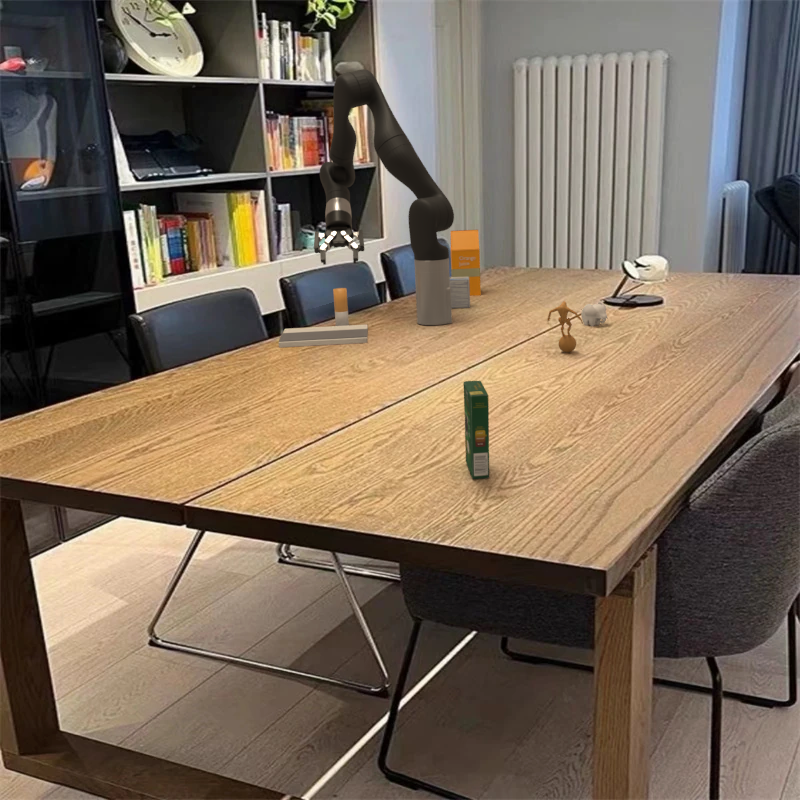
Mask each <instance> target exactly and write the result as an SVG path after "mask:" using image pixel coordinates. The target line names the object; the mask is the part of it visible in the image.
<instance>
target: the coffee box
mask: <svg viewBox="0 0 800 800" xmlns="http://www.w3.org/2000/svg"><path fill="white" fill-rule="evenodd" d="M489 401H490V399H489V393H488V392H487V390H486V388H485V385H484V384H483V382H482V380H466V381H463V407H464V410H463V411H464V440H465V442H464V443H465V444H464V445H465V462H466V463H465V464H466V466H467V469H468V470H469V474H470V476H471V479H472V480H479V479H480V480H481V479H483V480H484V479H485V480H486V479H490V434H489V433H490V429H489V427H490V426H489V425H490V422H489V421H490V420H489V419H490V418H489V415H490V413H489V409H490V408H489V405H490V404H489Z"/></svg>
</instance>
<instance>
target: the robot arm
mask: <svg viewBox="0 0 800 800" xmlns="http://www.w3.org/2000/svg"><path fill="white" fill-rule="evenodd" d="M362 106H367V107H368V108H369V110H370V111H371V113H372V116H373V118H374V130H373V131H374V134H373V147H374V151H375V153H376V155H377V156H378V158H379V160H380V162H381V163H382V165H383V167H384V168H385V169H386V171H387V172H388V173H389V174H390V175H392V177H394V178H395V179H396V180H397V181H399V182H400V183H401V184H403V185H404V186H406V187H407V188H408V189H409V190H410V191H411V192H412V193H413V195H414V196H415V197H416V199H415V200H413V201H412V203H411V205H410V206H409V210H408V215H407V217H408V229H409V239H410V247H411V250H412V252H413V256H414V257H413V259H414V261H413V262H414V279H415V285H414V286H415V301H416V304H415V305H416V307H415V308H416V323H417V324H419V325H423V326H440V325H446V324H452V323H453V321H452V320H453V319H452V317H453V316H452V308H451V288H450V277H451V275H450V251H449V248H448V246H446V245H443V244H441V243H440V242H439V240H438V234H437V233H439V232H443V231H446V230H448V229H449V230H450V228H451V227H452V226H453V224H454V220H455V213H454V209H453V205H452V204H451V202H450V200H449V199H448V197H447V196H446V195H445V194H444V192H443V191H442V189H441V188H440V186H438V185H437V183H436V182H435V180H434V178H433V177H432V176H431V175H430V172H428V170H427V168H426V167H425V165H424V164H423V162H422V160H421V158H420V157H419V155H418V153H417V152H416V149H415V148H414V145H413V144H412V142H411V141H410V139H409V138H408V136H407V135H406V133H405V132H404V129H403V128H402V127H401V125H400V123H399V122H398V119H396V116H395V115H394V112H393V111H392V109H391V107H390V105H389V104H388V101H387V98H386V97H385V95H384V93H383V91H382V88H381V86H380V84H379V82H378V80H377V79H376V76H374V74H373V73H372V72H371V71H370V70H369V69H367V68H366V69H365V68H364V69H363V68H361V69H357V70H353V71H351V72H350V71H349V72H345V73H342V74H339V75H338V76H337V77H336V78H335V81H334V86H333V113H332V114H333V131H332V139H331V144H330V149H329V159H330V160H331V161H326V162H323V164H322V165H321V166H320V168H319V179H320V183H321V184H322V188H323V189H324V193H325V202H326V203H325V205H326V206H325V212H324V213H325V217H324V219H325V231H324V233H320V232H319V231H314V238H313V240H314V241H313V250H314V253H315V254H319V255H320V262H321V263H322V264H323V265H327V257H326V256H327V254H326V253H327V252H329V251H330V250H331V249H332V248H345V247H347V248H348V249H349V250H351V251H352V261H353V264H357V262H358V261H359V252H364V251H365V240H364V232H363V230H362V229H359V230H357V231H355V232H354V231H353V225H352V223H353V222H352V219H353V218H352V216H353V215H352V208H351V193H350V190H349V188H350V187H352V185H354V183H355V180H356V172H355V166H354V155H355V150H356V146H357V134H356V133H357V132H356V131H355V129H354V126H353V125H352V123H351V121H350V119H349V115H350V112H351V109H355V108H359V107H362ZM354 238H355V239H356V240H357V241H358V242H359V244H357V243H356V242H355V241H354ZM323 239H324V243H323V244H322V245H321V246H320V243H321V242H322V241H323Z"/></svg>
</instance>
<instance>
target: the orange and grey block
mask: <svg viewBox="0 0 800 800" xmlns="http://www.w3.org/2000/svg"><path fill="white" fill-rule="evenodd" d="M347 291H348V290H347V287H337V288H333V290H332V293H333V305H334V306H333V307H334V317H335V318H334V319H335V322H334V323H335V326H347V325H350V321H349V307H348V305H349V304H348V292H347Z"/></svg>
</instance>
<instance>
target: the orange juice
mask: <svg viewBox="0 0 800 800" xmlns="http://www.w3.org/2000/svg"><path fill="white" fill-rule="evenodd" d="M479 235H480V234H479V229H463V230H461V229H460V230H458V229H457V230H450V274H451V275H450V277H469V285H470V297H474V296H477V297H478V296H481V293H482V292H481V291H482V290H481V289H482V288H481V258H480V257H481V254H480V253H481V252H480V241H479V239H480V237H479Z"/></svg>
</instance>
